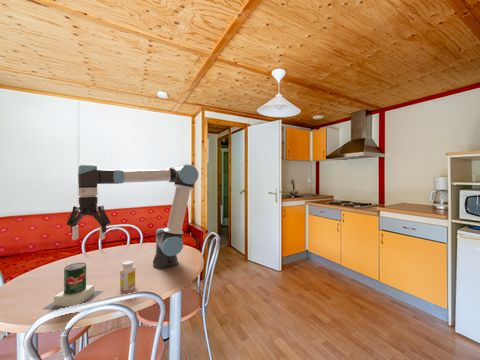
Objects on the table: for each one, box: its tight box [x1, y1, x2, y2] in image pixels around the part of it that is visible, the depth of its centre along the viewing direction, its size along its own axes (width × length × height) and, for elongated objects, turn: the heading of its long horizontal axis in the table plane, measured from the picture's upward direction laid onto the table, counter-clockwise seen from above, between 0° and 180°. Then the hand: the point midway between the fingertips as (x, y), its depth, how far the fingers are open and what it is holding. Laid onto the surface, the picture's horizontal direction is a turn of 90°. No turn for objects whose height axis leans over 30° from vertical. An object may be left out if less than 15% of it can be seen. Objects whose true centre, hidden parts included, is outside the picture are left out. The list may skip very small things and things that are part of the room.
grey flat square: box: [42, 290, 104, 311], centre depth 93 cm, size 15×15×1 cm
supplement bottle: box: [119, 260, 136, 292], centre depth 104 cm, size 7×7×13 cm
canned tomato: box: [63, 262, 87, 295], centre depth 93 cm, size 8×8×11 cm
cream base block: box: [53, 284, 95, 306], centre depth 93 cm, size 10×10×4 cm
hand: (88, 239), depth 103 cm, fingers open, 13 cm apart
